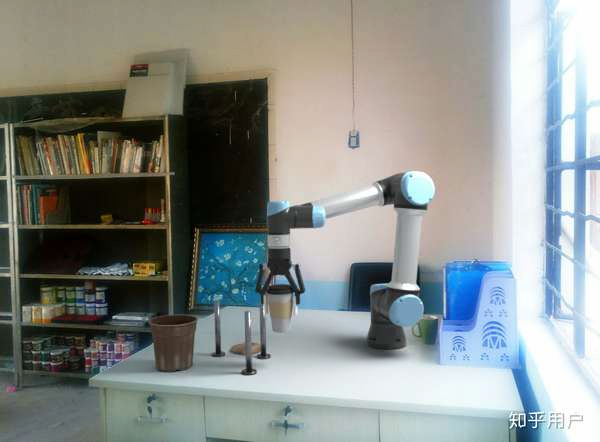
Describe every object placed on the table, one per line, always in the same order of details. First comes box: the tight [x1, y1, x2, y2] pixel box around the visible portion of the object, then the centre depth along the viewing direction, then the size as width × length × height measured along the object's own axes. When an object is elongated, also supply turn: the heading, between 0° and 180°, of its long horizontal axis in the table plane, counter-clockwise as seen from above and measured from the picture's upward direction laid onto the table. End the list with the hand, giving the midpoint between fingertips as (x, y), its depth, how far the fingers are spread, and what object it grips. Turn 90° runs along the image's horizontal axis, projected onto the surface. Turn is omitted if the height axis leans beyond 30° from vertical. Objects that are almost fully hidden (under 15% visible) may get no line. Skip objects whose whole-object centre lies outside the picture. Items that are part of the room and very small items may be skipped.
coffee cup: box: [265, 283, 295, 334], centre depth 177 cm, size 9×9×15 cm
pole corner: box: [256, 300, 272, 360], centre depth 188 cm, size 5×5×20 cm
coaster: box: [230, 342, 261, 356], centre depth 197 cm, size 12×12×1 cm
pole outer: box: [240, 310, 258, 376], centre depth 171 cm, size 5×5×20 cm
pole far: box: [210, 299, 226, 358], centre depth 191 cm, size 5×5×20 cm
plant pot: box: [148, 314, 199, 373], centre depth 179 cm, size 16×16×16 cm
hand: (280, 313), depth 177 cm, fingers closed on coffee cup, 9 cm apart
